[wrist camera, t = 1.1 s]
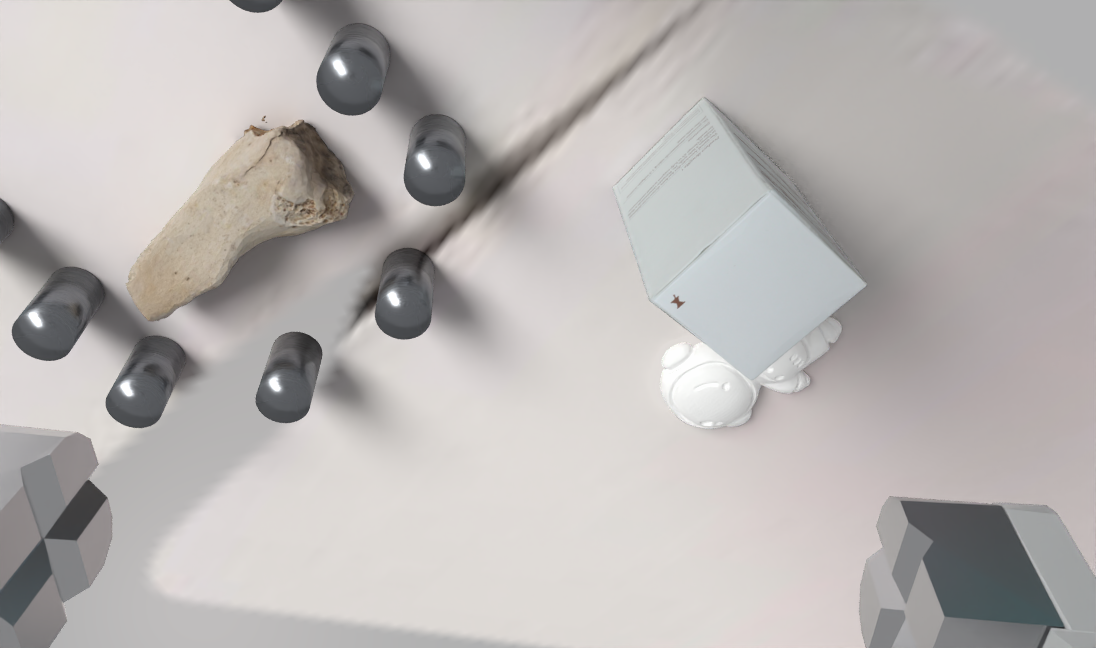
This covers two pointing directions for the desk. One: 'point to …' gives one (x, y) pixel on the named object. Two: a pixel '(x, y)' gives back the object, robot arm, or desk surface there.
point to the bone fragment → (240, 214)
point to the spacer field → (295, 357)
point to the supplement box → (731, 243)
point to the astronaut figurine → (734, 379)
